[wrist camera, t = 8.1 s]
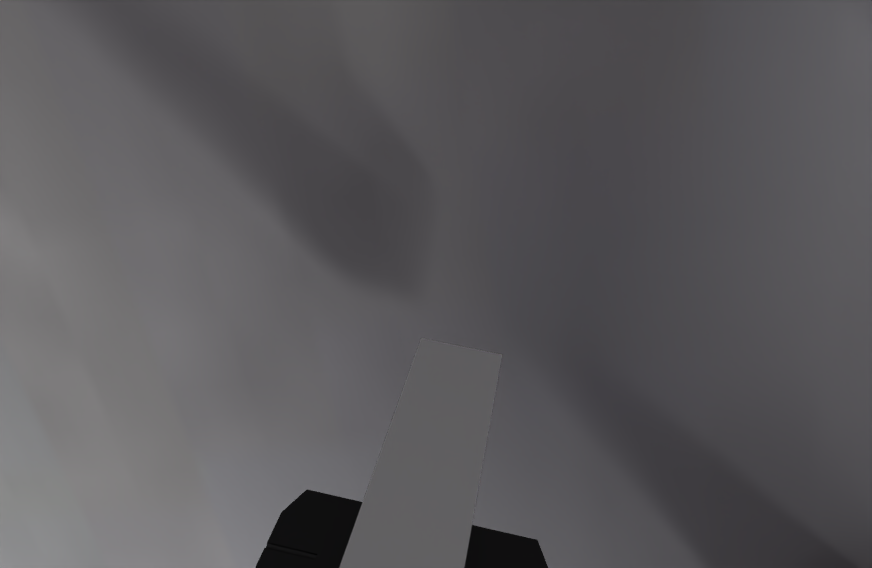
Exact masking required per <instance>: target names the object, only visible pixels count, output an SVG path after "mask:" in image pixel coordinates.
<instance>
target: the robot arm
mask: <svg viewBox="0 0 872 568" xmlns="http://www.w3.org/2000/svg"><path fill="white" fill-rule="evenodd" d="M501 360H502V354H497V353H493V352H488V351H483V350H478V349H473V348H468V347H463V346H458V345H453V344H449V343H444V342H439V341H434V340H429V339H424V338H421V339H420V342H419V345H418V348H417V351H416V353H415V356H414V359H413V362H412V365H411V367H410V370H409V373H408V376H407V379H406V381H405V384H404V387H403V390H402V393H401V395H400V398H399V401H398V404H397V407H396V410H395V412H394V415H393V418H392V421H391V424H390V426H389V429H388V432H387V435H386V438H385V440H384V443H383V446H382V449H381V452H380V455H379V457H378V460H377V463H376V466H375V469H374V471H373V474H372V477H371V480H370V483H369V485H368V488H367V491H366V494H365V497H364V500H363V502H359V501H355V500H351V499H346V498H342V497H337V496H333V495H329V494H324V493H320V492H315V491H311V490H306V491H305V492H304V493H302V494H301V495H300V496H299V497H298V498H297V499H296V500H295V501H294V502H292V503H291V504H290V505H289V506H288V507H287V508H286V509H285V510H284V511H282V512H281V515H280V517H279V519H278V521H277V523H276V525H275V527H274V529H273V531H272V534H271V536H270V538H269V540H268V542H267V546H266V548H264V550H263V553H262V555H261V557H260V559H259V561H258V563H257V565H256V568H548V566H547V564H546V561H545V558H544V556H543V553H542V551H541V548H540V545H539V543H538V540H535V539H531V538H526V537H522V536H518V535H513V534H509V533H504V532H500V531H496V530H491V529H487V528H482V527H478V526H474V525H472V522H473V517H474V511H475V505H476V500H477V494H478V489H479V483H480V478H481V472H482V466H483V461H484V455H485V450H486V444H487V439H488V433H489V427H490V422H491V416H492V411H493V405H494V400H495V394H496V388H497V383H498V377H499V372H500V366H501Z"/></svg>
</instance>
